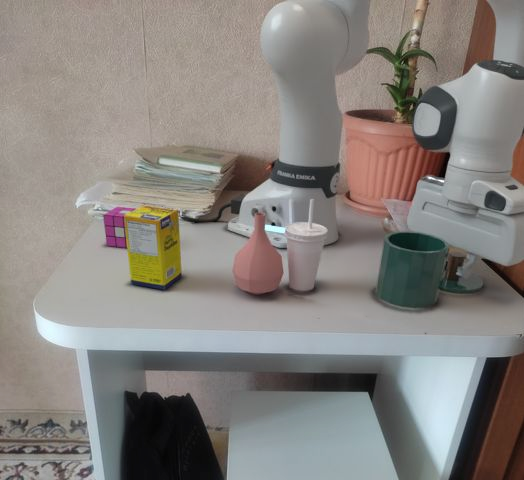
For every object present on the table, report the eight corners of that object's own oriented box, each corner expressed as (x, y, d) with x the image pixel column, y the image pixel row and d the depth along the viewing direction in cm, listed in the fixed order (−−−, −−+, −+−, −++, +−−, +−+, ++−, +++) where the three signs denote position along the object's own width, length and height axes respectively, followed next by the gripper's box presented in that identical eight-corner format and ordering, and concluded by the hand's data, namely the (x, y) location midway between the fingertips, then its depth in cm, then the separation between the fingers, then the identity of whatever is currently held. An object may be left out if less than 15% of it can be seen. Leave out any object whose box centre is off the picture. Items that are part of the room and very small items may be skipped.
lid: (411, 286, 83) (417, 256, 81) (429, 267, 90) (435, 239, 88) (474, 302, 79) (482, 271, 76) (487, 281, 86) (495, 252, 84)
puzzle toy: (120, 236, 99) (116, 206, 96) (148, 239, 98) (145, 209, 95) (106, 245, 94) (102, 214, 91) (136, 249, 93) (133, 217, 90)
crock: (366, 300, 78) (375, 243, 73) (387, 280, 85) (396, 227, 80) (425, 317, 74) (439, 257, 69) (443, 295, 81) (456, 239, 76)
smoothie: (310, 301, 77) (318, 207, 70) (273, 290, 80) (278, 199, 73) (328, 287, 82) (338, 198, 75) (293, 277, 85) (299, 190, 77)
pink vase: (285, 284, 82) (290, 209, 76) (278, 304, 76) (283, 224, 69) (237, 279, 83) (238, 204, 77) (227, 299, 77) (227, 219, 70)
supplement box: (182, 276, 83) (179, 209, 77) (164, 291, 78) (159, 220, 72) (149, 270, 85) (144, 204, 79) (130, 284, 80) (122, 214, 74)
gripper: (406, 173, 82) (392, 256, 89) (524, 205, 68) (495, 300, 75) (433, 170, 85) (416, 249, 93) (550, 200, 71) (520, 291, 78)
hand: (453, 273), depth 84 cm, fingers closed on lid, 2 cm apart
